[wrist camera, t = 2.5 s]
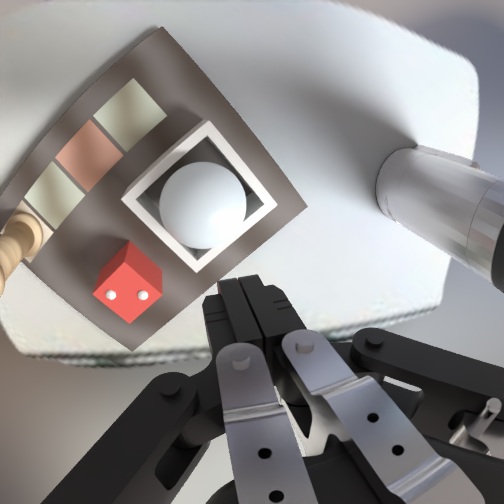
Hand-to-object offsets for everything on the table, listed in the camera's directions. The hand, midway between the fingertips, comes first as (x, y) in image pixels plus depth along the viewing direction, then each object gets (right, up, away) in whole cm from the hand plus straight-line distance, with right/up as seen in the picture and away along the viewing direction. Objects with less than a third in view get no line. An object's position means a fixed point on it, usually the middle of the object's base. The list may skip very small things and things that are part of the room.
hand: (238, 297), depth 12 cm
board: (-10, +6, +16) cm, 20 cm away
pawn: (-21, +4, +12) cm, 25 cm away
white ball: (-4, +7, +14) cm, 16 cm away
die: (-11, 0, +17) cm, 20 cm away
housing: (-4, +7, +15) cm, 17 cm away
